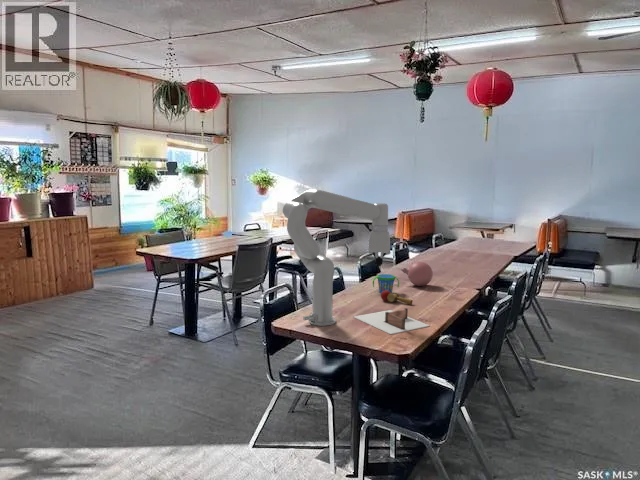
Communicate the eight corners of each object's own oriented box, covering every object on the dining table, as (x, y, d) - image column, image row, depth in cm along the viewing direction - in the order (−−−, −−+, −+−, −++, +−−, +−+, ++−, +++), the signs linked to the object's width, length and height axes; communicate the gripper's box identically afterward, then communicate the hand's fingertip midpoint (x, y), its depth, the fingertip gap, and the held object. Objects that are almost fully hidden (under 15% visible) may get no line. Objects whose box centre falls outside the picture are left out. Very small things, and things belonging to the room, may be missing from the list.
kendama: (413, 305, 259) (384, 296, 268) (415, 295, 257) (385, 286, 266) (408, 311, 253) (378, 301, 262) (409, 300, 251) (378, 291, 260)
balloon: (404, 281, 310) (404, 258, 308) (434, 284, 302) (435, 260, 299) (397, 286, 297) (397, 262, 294) (428, 289, 288) (429, 264, 286)
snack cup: (398, 290, 285) (398, 274, 284) (399, 295, 275) (400, 278, 274) (372, 290, 287) (372, 273, 285) (372, 294, 276) (372, 277, 275)
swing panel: (389, 321, 224) (390, 312, 223) (387, 320, 225) (387, 311, 225) (408, 317, 230) (408, 308, 229) (405, 316, 231) (406, 308, 231)
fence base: (402, 329, 213) (403, 319, 212) (384, 321, 224) (384, 312, 224) (405, 329, 214) (405, 319, 213) (387, 321, 225) (387, 311, 225)
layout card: (390, 334, 208) (390, 333, 208) (353, 317, 233) (353, 316, 232) (429, 326, 219) (429, 325, 219) (390, 310, 244) (390, 309, 244)
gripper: (363, 229, 229) (362, 266, 231) (394, 230, 225) (393, 268, 227) (366, 227, 236) (365, 263, 238) (396, 228, 232) (395, 265, 235)
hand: (379, 265), depth 233 cm, fingers closed
